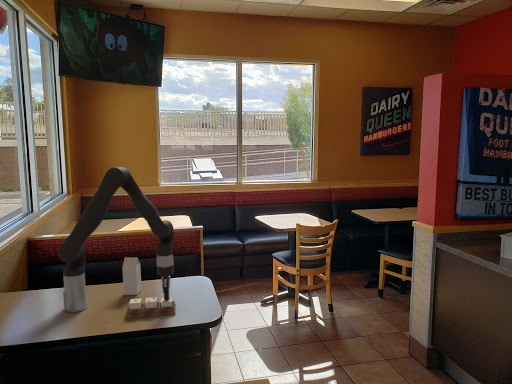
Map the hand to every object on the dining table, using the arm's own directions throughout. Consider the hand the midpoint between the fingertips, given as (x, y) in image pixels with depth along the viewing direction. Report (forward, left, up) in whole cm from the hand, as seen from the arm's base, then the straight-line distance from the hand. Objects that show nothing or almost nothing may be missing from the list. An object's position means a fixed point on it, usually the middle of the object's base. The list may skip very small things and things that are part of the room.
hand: (166, 299), depth 187 cm
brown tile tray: (-7, 0, -6) cm, 9 cm away
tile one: (-14, 0, -3) cm, 14 cm away
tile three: (0, 0, -3) cm, 3 cm away
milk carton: (-19, +27, -6) cm, 34 cm away
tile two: (-7, 0, -3) cm, 7 cm away
